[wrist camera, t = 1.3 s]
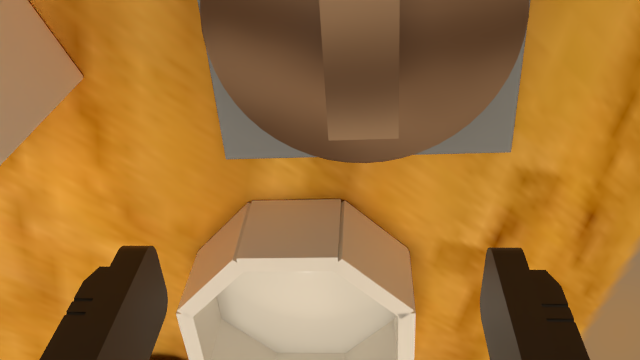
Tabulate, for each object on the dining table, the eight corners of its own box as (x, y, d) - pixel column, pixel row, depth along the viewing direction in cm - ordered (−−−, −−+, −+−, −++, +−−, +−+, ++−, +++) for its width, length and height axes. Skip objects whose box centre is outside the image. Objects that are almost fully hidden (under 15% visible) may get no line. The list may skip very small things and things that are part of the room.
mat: (171, -161, 24) (168, -160, 24) (551, -189, 23) (554, -189, 22) (227, 155, 32) (226, 159, 32) (509, 148, 31) (510, 152, 31)
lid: (177, -152, 24) (126, -135, 19) (544, -179, 23) (598, -169, 18) (230, 154, 32) (205, 225, 27) (505, 147, 31) (534, 220, 25)
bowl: (185, 201, 34) (160, 259, 30) (410, 197, 33) (417, 256, 29) (220, 352, 41) (204, 415, 37) (407, 353, 40) (412, 418, 36)
